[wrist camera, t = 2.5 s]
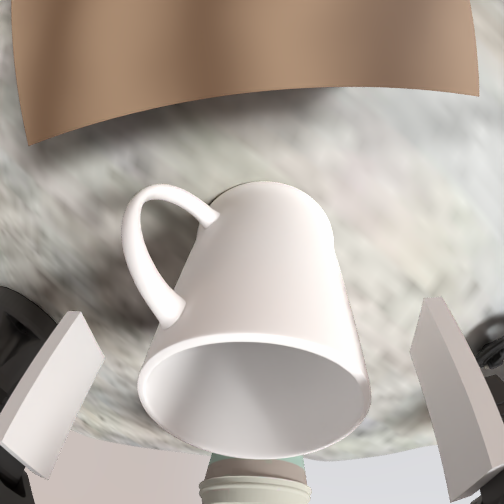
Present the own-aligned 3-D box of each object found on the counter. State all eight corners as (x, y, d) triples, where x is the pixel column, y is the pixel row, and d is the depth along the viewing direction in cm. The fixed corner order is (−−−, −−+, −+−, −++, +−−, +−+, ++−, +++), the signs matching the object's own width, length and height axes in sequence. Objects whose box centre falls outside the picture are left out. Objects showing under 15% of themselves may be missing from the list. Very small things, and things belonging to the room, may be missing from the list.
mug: (139, 188, 19) (18, 312, 8) (253, 104, 16) (212, 144, 6) (247, 317, 23) (229, 472, 13) (355, 263, 21) (405, 425, 10)
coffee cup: (199, 394, 29) (175, 507, 18) (253, 352, 25) (240, 493, 15) (267, 425, 31) (262, 527, 21) (326, 390, 27) (336, 510, 17)
